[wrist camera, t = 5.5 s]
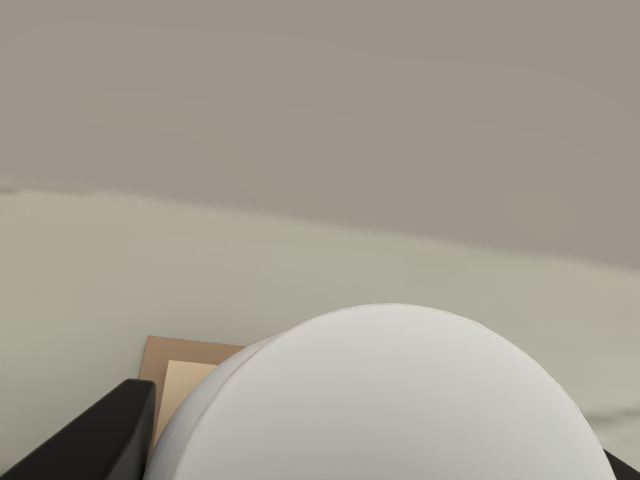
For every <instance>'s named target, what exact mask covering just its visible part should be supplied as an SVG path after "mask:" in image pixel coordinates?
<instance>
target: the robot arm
mask: <svg viewBox="0 0 640 480" xmlns="http://www.w3.org/2000/svg"><path fill="white" fill-rule="evenodd" d="M155 402H156V383H155V382H154V381H152V380H142V379H127V380H125V381H123V382H122V383H121V384H119V385H118V386H117V387H116V388H114V389H113V390H112V391H110V392H109V393H108V394H106V395H105V396H104V397H103V398H101V399H100V400H99V401H97V402H96V403H95V404H93V405H92V406H91V407H90V408H88V409H87V410H86V411H84V412H83V413H82V414H80V415H79V416H78V417H77V418H75V419H74V420H73V421H71V422H70V423H69V424H67V425H66V426H65V427H64V428H62V429H61V430H60V431H58V432H57V433H56V434H54V435H53V436H52V437H51V438H49V439H48V440H47V441H45V442H44V443H43V444H41V445H40V446H39V447H38V448H36V449H35V450H34V451H32V452H31V453H30V454H28V455H27V456H26V457H25V458H23V459H22V460H21V461H19V462H18V463H17V464H15V465H14V466H13V467H12V468H10V469H9V470H8V471H6V472H5V473H4V474H2V475H1V476H0V480H142V479H143V476H144V472H145V468H146V464H147V459H148V455H149V450H150V446H151V441H152V435H153V426H154V414H155ZM602 449H603V448H602ZM603 451H604V453H605V455H606V457H607V459H608V461H609V463H610V465H611V468H612V470H613V473H614V475H615V477H616V480H640V473H639V472H638V471H636V470H635V469H633V468H632V467H630V466H629V465H627V464H626V463H624V462H623V461H621V460H620V459H618V458H617V457H615V456H614V455H612V454H610V453H609V452H607V451H606V450H604V449H603Z"/></svg>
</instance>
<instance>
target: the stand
mask: <svg viewBox="0 0 640 480" xmlns="http://www.w3.org/2000/svg"><path fill="white" fill-rule="evenodd" d="M244 348H246V347H245V346H236V345H227V344H218V343H209V342H200V341H191V340H182V339H174V338H165V337H156V336H148V337H147V342H146V347H145V352H144V357H143V362H142V367H141V372H140V377H139V379H142V380H152V381H154V382H155V383H156V402H155V414H154V426H153V435H152V441H151V446H150V450H149V455H148V459H147V464H148V462H149V459H150V457H151V455H152V452H153V450H154V448H155V445H156V443H157V441H158V439H159V437H160V435H161V434H162V432H163V430H164V428H165V426H166V425H167V423H168V422H169V420H170V419H171V417H172V415H173V414H174V413H175V411H176V410H177V409H178V407H179V406H180V405H181V403H182V402H183V401H184V399H185V398H186V396H187V395H188V394H189V393H190V392H191V391H192V390H193V389H194V388H195V387H196V386H197V385H198V383H199V382H200V381H201V380H202V379H203V378H204V377H205V376H207V375H208V374H209V373H210V372H211V371H212V370H214V369H215V368H216V367H217V366H218V365H220V364H221V363H222V362H224V361H225V360H227V359H228V358H229V357H231V356H233V355H234V354H236V353H237V352H239V351H241V350H243V349H244ZM147 464H146V467H147ZM145 469H146V468H145Z"/></svg>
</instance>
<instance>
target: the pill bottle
mask: <svg viewBox="0 0 640 480" xmlns="http://www.w3.org/2000/svg"><path fill="white" fill-rule="evenodd" d="M142 480H616V477H615V475H614V473H613V470H612V468H611V465H610V463H609V461H608V459H607V457H606V455H605V453H604V451H603V449H602V446H601V444H600V443H599V441H598V439H597V437H596V435H595V434H594V432H593V430H592V429H591V427H590V425H589V424H588V422H587V421H586V419H585V418H584V416H583V415H582V413H581V412H580V410H579V409H578V407H577V406H576V404H575V403H574V402H573V401H572V399H571V398H570V397H569V396H568V394H567V393H566V392H565V391H564V390H563V388H562V387H561V386H560V385H559V384H558V383H557V382H556V381H555V380H554V379H553V378H552V377H551V376H550V375H549V374H548V373H547V372H546V371H545V370H544V369H543V368H542V367H541V366H540V365H539V364H538V363H537V362H536V361H534V360H533V359H532V358H531V357H530V356H528V355H527V354H526V353H525V352H524V351H522V350H521V349H519V348H518V347H517V346H515V345H514V344H512V343H511V342H509V341H508V340H506V339H505V338H503V337H501V336H500V335H498V334H496V333H495V332H493V331H491V330H490V329H488V328H486V327H484V326H483V325H481V324H479V323H477V322H475V321H472V320H469V319H466V318H463V317H461V316H458V315H455V314H452V313H449V312H447V311H443V310H439V309H434V308H430V307H425V306H418V305H411V304H403V303H378V304H366V305H360V306H354V307H349V308H343V309H338V310H334V311H331V312H328V313H325V314H321V315H318V316H316V317H313V318H311V319H308V320H306V321H303V322H301V323H299V324H297V325H295V326H294V327H292V328H290V329H288V330H286V331H284V332H281V333H278V334H275V335H272V336H269V337H267V338H264V339H262V340H260V341H257V342H255V343H253V344H251V345H249V346H248V347H246V348H244V349H243V350H241V351H239V352H237V353H236V354H234V355H233V356H231V357H229V358H228V359H227V360H225V361H224V362H222V363H221V364H220V365H218V366H217V367H216V368H215V369H214V370H212V371H211V372H210V373H209V374H208V375H207V376H205V377H204V378H203V379H202V380H201V381H200V382H199V383H198V385H197V386H196V387H195V388H194V389H193V390H192V391H191V392H190V393H189V394H188V395H187V396H186V398H185V399H184V401H183V402H182V403H181V405H180V406H179V407H178V409H177V410H176V411H175V413H174V414H173V415H172V417H171V419H170V420H169V422H168V423H167V425H166V426H165V428H164V430H163V432H162V434H161V435H160V437H159V439H158V441H157V443H156V445H155V448H154V450H153V452H152V455H151V457H150V459H149V462H148V464H147V467H146V469H145V472H144V476H143V479H142Z"/></svg>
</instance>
